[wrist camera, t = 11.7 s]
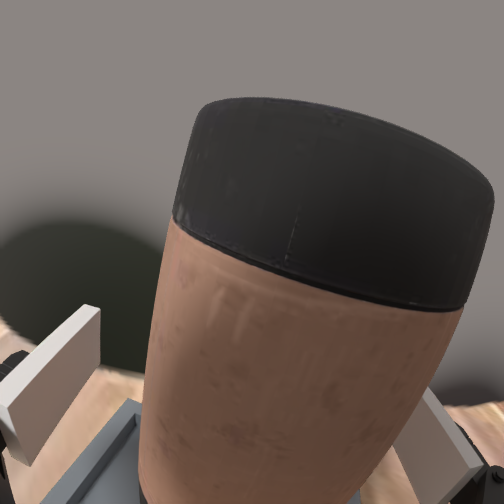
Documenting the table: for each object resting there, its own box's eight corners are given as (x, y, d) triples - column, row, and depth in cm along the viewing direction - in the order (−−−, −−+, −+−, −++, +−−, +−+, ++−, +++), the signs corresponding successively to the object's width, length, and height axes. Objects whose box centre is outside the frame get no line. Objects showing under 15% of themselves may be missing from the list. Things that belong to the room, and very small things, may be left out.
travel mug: (144, 489, 15) (199, 130, 10) (262, 500, 16) (391, 187, 12) (136, 589, 7) (176, 47, 3) (282, 594, 9) (556, 221, 4)
